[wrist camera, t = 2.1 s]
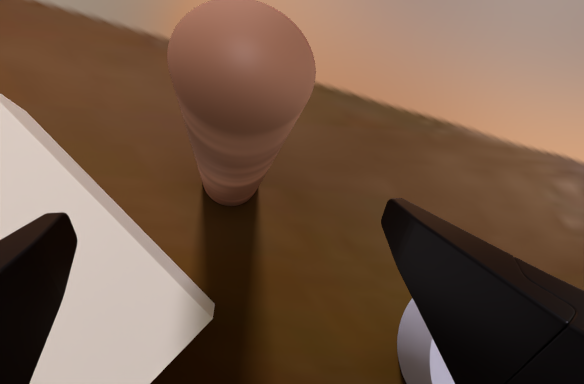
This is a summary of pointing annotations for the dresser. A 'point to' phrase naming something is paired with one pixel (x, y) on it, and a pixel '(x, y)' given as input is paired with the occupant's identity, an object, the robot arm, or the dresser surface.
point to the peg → (238, 90)
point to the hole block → (96, 269)
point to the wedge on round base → (419, 351)
